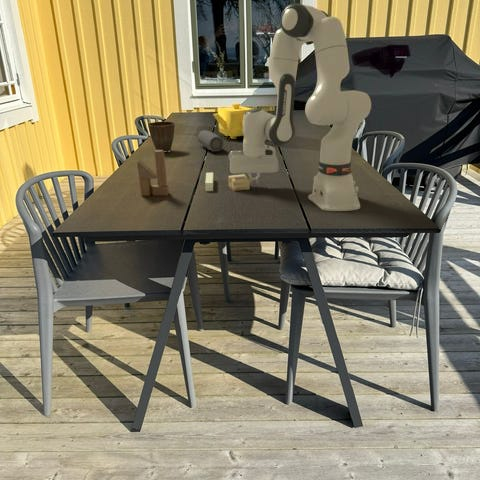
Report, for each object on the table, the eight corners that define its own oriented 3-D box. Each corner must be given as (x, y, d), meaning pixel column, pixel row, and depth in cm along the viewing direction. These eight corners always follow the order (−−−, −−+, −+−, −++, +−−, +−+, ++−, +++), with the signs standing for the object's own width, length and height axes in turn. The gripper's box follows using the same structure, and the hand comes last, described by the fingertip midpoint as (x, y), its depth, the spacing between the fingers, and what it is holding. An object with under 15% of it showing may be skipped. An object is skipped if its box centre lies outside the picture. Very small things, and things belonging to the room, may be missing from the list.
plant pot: (179, 149, 254) (177, 121, 247) (173, 154, 240) (171, 125, 234) (155, 149, 255) (152, 121, 249) (147, 154, 242) (144, 125, 235)
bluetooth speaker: (224, 152, 242) (224, 134, 238) (209, 154, 239) (208, 136, 235) (212, 145, 262) (211, 128, 258) (197, 146, 259) (196, 129, 255)
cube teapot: (205, 135, 291) (203, 103, 282) (245, 131, 302) (244, 99, 293) (225, 144, 262) (224, 108, 253) (268, 139, 273) (269, 104, 264)
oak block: (249, 189, 179) (249, 179, 177) (233, 191, 177) (233, 180, 175) (244, 184, 186) (244, 174, 184) (228, 186, 184) (228, 175, 183)
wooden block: (143, 193, 177) (138, 149, 170) (169, 193, 176) (165, 149, 169) (141, 196, 174) (135, 151, 166) (167, 195, 173) (163, 151, 166)
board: (212, 190, 178) (212, 182, 176) (205, 191, 177) (205, 183, 176) (213, 180, 192) (213, 172, 191) (206, 180, 192) (206, 172, 191)
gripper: (228, 152, 172) (229, 185, 178) (279, 151, 173) (278, 184, 179) (228, 149, 178) (229, 181, 184) (277, 147, 179) (277, 179, 184)
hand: (254, 182), depth 181 cm, fingers closed
